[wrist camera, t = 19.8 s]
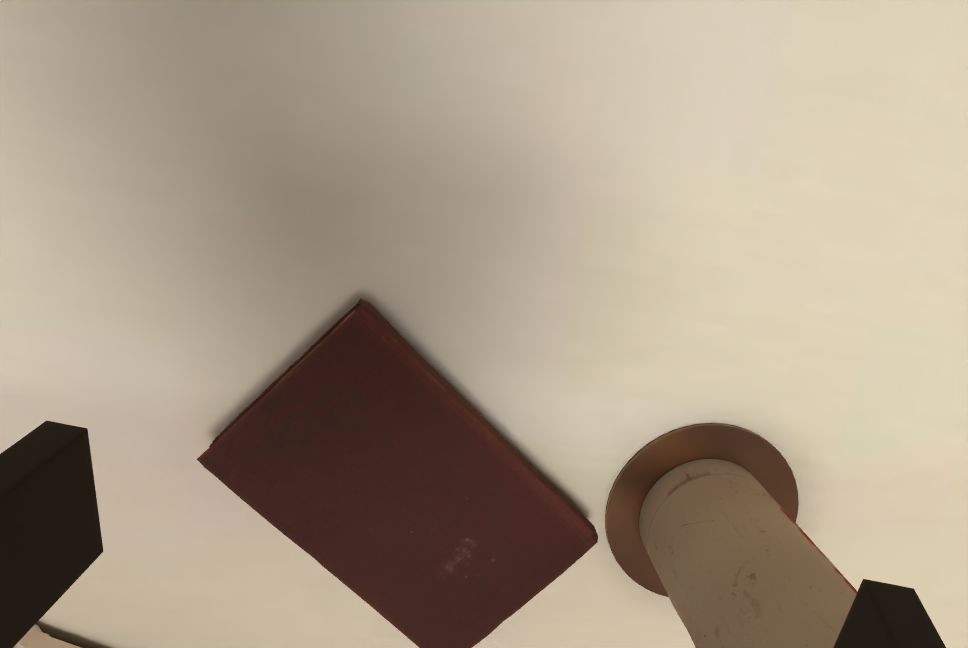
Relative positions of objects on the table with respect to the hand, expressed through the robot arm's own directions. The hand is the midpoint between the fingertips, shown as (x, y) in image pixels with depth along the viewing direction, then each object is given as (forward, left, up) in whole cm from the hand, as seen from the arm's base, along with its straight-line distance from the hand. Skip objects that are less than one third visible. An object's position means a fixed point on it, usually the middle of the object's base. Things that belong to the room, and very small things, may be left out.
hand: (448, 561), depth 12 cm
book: (+13, +1, -28) cm, 31 cm away
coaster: (+11, +20, -28) cm, 36 cm away
